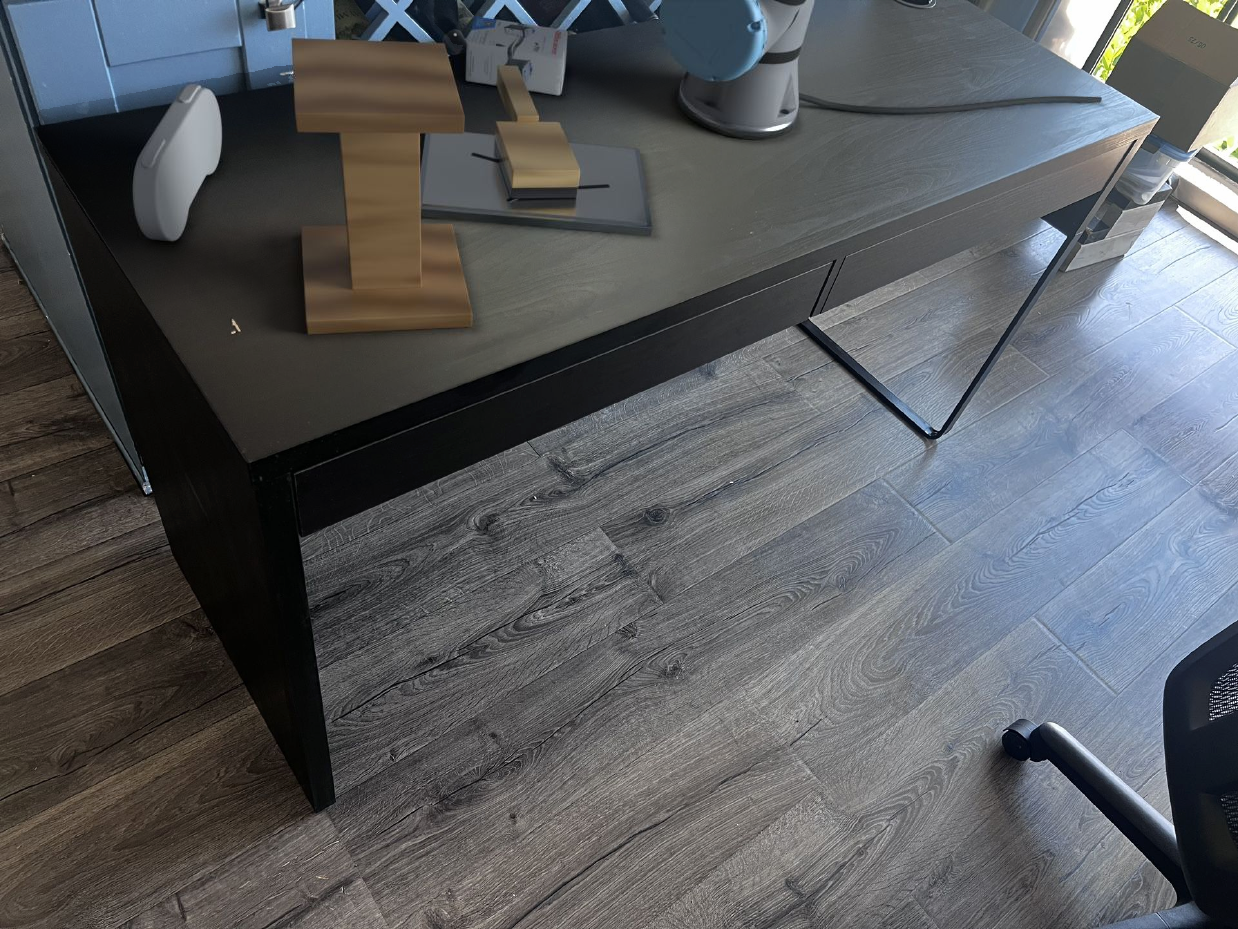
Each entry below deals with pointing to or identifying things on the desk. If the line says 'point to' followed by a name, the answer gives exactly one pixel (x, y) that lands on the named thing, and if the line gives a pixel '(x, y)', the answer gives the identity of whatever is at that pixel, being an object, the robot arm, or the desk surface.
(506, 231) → the desk surface
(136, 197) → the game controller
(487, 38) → the ink box
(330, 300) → the shelf stand
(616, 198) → the whiteboard
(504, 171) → the eraser
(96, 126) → the desk surface
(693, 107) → the robot arm
